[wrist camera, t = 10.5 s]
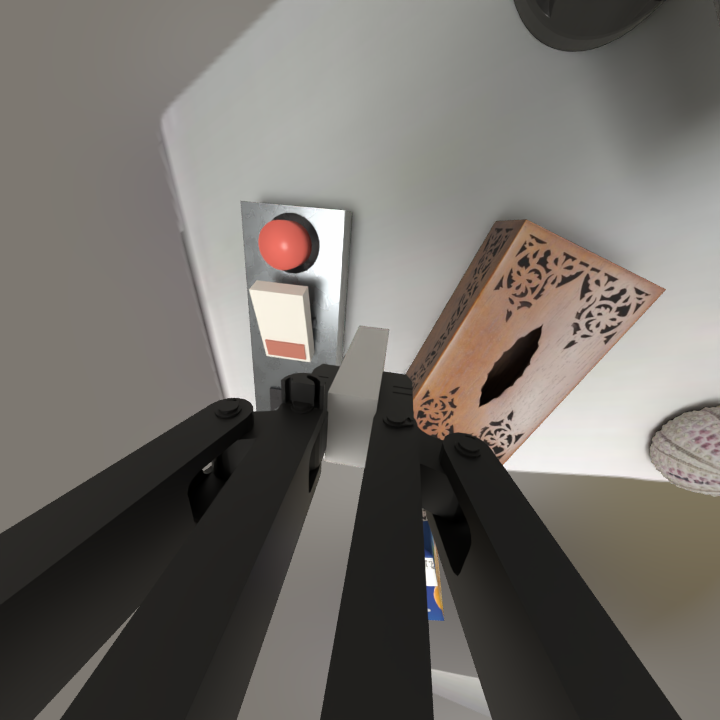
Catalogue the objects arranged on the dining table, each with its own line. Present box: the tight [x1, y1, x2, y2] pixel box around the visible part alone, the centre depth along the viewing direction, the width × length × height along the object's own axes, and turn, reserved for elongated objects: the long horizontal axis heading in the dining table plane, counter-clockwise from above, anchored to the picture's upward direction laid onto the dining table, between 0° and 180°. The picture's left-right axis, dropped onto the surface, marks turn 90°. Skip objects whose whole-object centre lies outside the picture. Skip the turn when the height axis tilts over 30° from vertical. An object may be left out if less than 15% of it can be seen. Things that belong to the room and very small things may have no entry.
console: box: [241, 201, 352, 411], centre depth 41 cm, size 32×12×6 cm, turn 175°
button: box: [258, 220, 312, 270], centre depth 32 cm, size 5×5×3 cm
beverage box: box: [422, 508, 444, 621], centre depth 40 cm, size 7×11×22 cm, turn 12°
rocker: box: [249, 280, 315, 362], centre depth 35 cm, size 10×6×2 cm, turn 174°
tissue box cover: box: [406, 219, 666, 465], centre depth 36 cm, size 26×14×10 cm, turn 156°
